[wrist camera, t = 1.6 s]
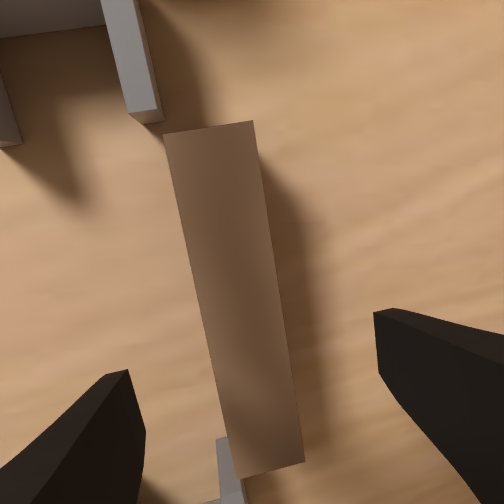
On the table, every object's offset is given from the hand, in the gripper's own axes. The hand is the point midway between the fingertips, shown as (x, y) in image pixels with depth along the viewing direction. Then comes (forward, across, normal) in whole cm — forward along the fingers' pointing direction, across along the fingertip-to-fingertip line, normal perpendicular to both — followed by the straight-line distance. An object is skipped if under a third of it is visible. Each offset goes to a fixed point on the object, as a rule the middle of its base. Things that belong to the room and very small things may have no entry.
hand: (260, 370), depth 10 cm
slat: (+8, 0, 0) cm, 8 cm away
